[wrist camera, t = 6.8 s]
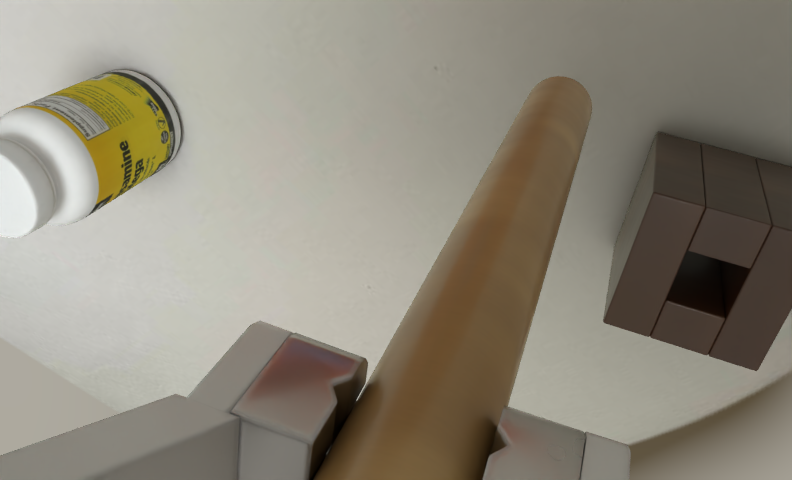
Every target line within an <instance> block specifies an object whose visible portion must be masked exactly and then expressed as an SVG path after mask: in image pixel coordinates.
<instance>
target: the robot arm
mask: <svg viewBox="0 0 792 480" xmlns="http://www.w3.org/2000/svg"><path fill="white" fill-rule="evenodd" d="M367 367H368V362H367V360H366V358H363V357H360V356H358V355H355V354H352V353H349V352H347V351H344V350H341V349H339V348H336V347H333V346H330V345H328V344H325V343H322V342H319V341H317V340H314V339H311V338H308V337H306V336H303V335H300V334H297V333H292V332H290V331H287V330H284V329H282V328H279V327H276V326H273V325H271V324H268V323H265V322H262V321H258V322H256V323H254V324H252V325H250V326H249V327H248V328H247V329H246V331H245V332H244V333H243V334H242V335H241V336H240V337H239V338H238V340H237V341H236V342H235V343H234V344H233V345H232V346H231V348H230V349H229V350H228V351H227V352H226V353H225V354H224V356H223V357H222V358H221V359H220V360H219V361H218V362H217V364H216V365H215V366H214V367H213V368H212V369H211V370H210V372H209V373H208V374H207V375H206V376H205V377H204V378H203V380H202V381H201V382H200V383H199V384H198V385H197V386H196V388H195V389H194V390H193V391H192V392H191V393H190V394H189V395H188V397H187V398H186V397H183V396H180V395H178V394H174V395H171V396H168V397H166V398H163V399H160V400H157V401H154V402H151V403H149V404H146V405H143V406H140V407H137V408H134V409H131V410H129V411H126V412H123V413H120V414H117V415H114V416H112V417H109V418H106V419H103V420H100V421H98V422H94V423H92V424H89V425H86V426H83V427H80V428H77V429H75V430H72V431H69V432H66V433H63V434H61V435H58V436H55V437H52V438H49V439H46V440H43V441H40V442H38V443H35V444H32V445H29V446H26V447H23V448H21V449H18V450H15V451H12V452H9V453H6V454H3V455H1V456H0V480H313V479H314V477H315V475H316V473H317V471H318V470H319V468H320V466H321V464H322V463H323V461H324V459H325V457H326V455H327V454H328V452H329V450H330V448H331V447H332V445H333V443H334V441H335V439H336V438H337V436H338V434H339V432H340V430H341V429H342V427H343V425H344V423H345V422H346V420H347V418H348V416H349V414H350V413H351V411H352V409H353V407H354V405H355V404H356V402H357V401H356V399H357V398H358V396H359V394H360V392H361V390H362V388H363V387H364V385H365V382H366V374H367ZM630 455H631V452H630V449H629V447H628V445H626V444H623V443H620V442H617V441H614V440H611V439H608V438H604V437H601V436H598V435H595V434H592V433H589V432H585V433H584V432H583V431H580V430H577V429H574V428H571V427H568V426H565V425H562V424H559V423H556V422H553V421H550V420H547V419H544V418H541V417H538V416H535V415H532V414H529V413H526V412H523V411H520V410H517V409H514V408H511V407H508V406H505V405H504V407H503V410H502V414H501V417H500V420H499V423H498V426H497V429H496V433H495V436H494V439H493V443H492V446H491V449H490V452H489V456H488V459H487V462H486V468H485V471H484V474H483V477H482V480H629V473H630Z"/></svg>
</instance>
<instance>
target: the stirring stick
mask: <svg viewBox="0 0 792 480" xmlns="http://www.w3.org/2000/svg"><path fill="white" fill-rule="evenodd" d="M591 114H592V102H591V98H590V96H589V94H588V92H587V90H586V89H585V88H584V87H583V86H582V85H581V84H580V83H579V82H577V81H575V80H573V79H571V78H568V77H561V76H557V77H550V78H547V79H545V80H543V81H541V82H539V83H538V84H537V85H536V86H535V87H534V88H533V89H532V90H531V92H530V93H529V95H528V97H527V99H526V101H525V102H524V104H523V106H522V108H521V109H520V111H519V113H518V115H517V117H516V118H515V120H514V122H513V124H512V125H511V127H510V129H509V131H508V133H507V134H506V136H505V138H504V140H503V142H502V143H501V145H500V147H499V149H498V150H497V152H496V154H495V156H494V158H493V159H492V161H491V163H490V165H489V167H488V168H487V170H486V172H485V174H484V175H483V177H482V179H481V181H480V183H479V184H478V186H477V188H476V190H475V191H474V193H473V195H472V197H471V199H470V200H469V202H468V204H467V206H466V208H465V209H464V211H463V213H462V215H461V216H460V218H459V220H458V222H457V224H456V225H455V227H454V229H453V231H452V232H451V234H450V236H449V238H448V240H447V241H446V243H445V245H444V247H443V249H442V250H441V252H440V254H439V256H438V257H437V259H436V261H435V263H434V265H433V266H432V268H431V270H430V272H429V274H428V275H427V277H426V279H425V281H424V282H423V284H422V286H421V288H420V290H419V291H418V293H417V295H416V297H415V298H414V300H413V302H412V304H411V306H410V307H409V309H408V311H407V313H406V315H405V316H404V318H403V320H402V322H401V323H400V325H399V327H398V329H397V331H396V332H395V334H394V336H393V338H392V339H391V341H390V343H389V345H388V347H387V348H386V350H385V352H384V354H383V356H382V357H381V359H380V361H379V363H378V364H377V366H376V368H375V370H374V372H373V373H372V375H371V377H370V379H369V381H368V382H367V384H366V386H365V388H364V389H363V391H362V393H361V395H360V397H359V398H358V400H357V402H356V404H355V405H354V407H353V409H352V411H351V413H350V414H349V416H348V418H347V420H346V422H345V423H344V425H343V427H342V429H341V430H340V432H339V434H338V436H337V438H336V439H335V441H334V443H333V445H332V447H331V448H330V450H329V452H328V454H327V455H326V457H325V459H324V461H323V463H322V464H321V466H320V468H319V470H318V471H317V473H316V475H315V477H314V479H313V480H482V477H483V474H484V471H485V468H486V462H487V459H488V456H489V452H490V449H491V446H492V443H493V439H494V436H495V433H496V429H497V426H498V423H499V420H500V417H501V414H502V410H503V407H504V405H505V406H508V403H509V400H510V396H511V393H512V389H513V386H514V383H515V379H516V376H517V372H518V369H519V365H520V362H521V358H522V355H523V351H524V348H525V344H526V341H527V337H528V334H529V330H530V327H531V323H532V320H533V316H534V313H535V309H536V306H537V303H538V299H539V296H540V292H541V289H542V285H543V282H544V278H545V275H546V271H547V268H548V264H549V261H550V257H551V254H552V250H553V247H554V243H555V240H556V236H557V233H558V230H559V226H560V223H561V219H562V216H563V212H564V209H565V205H566V202H567V198H568V195H569V191H570V188H571V184H572V181H573V177H574V174H575V170H576V167H577V163H578V160H579V156H580V153H581V150H582V146H583V143H584V139H585V136H586V132H587V129H588V125H589V122H590V118H591Z"/></svg>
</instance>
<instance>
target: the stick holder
mask: <svg viewBox="0 0 792 480" xmlns="http://www.w3.org/2000/svg"><path fill="white" fill-rule="evenodd" d="M791 309H792V167H789V166H785V165H781V164H778V163H774V162H770V161H766V160H762V159H758V158H756V159H755V158H754V157H752V156H748V155H744V154H740V153H736V152H733V151H729V150H725V149H721V148H717V147H713V146H710V145H706V144H700V143H698V142H694V141H690V140H686V139H682V138H678V137H675V136H671V135H667V134H663V133H659V132H657V133H656V135H655V138H654V141H653V143H652V146H651V149H650V151H649V154H648V157H647V159H646V162H645V165H644V168H643V170H642V173H641V176H640V178H639V181H638V184H637V187H636V189H635V192H634V195H633V197H632V200H631V203H630V205H629V208H628V211H627V214H626V216H625V219H624V222H623V224H622V227H621V230H620V232H619V235H618V238H617V241H616V243H615V246H614V252H613V259H612V265H611V272H610V279H609V286H608V292H607V299H606V306H605V312H604V319H603V322H604V323H606V324H610V325H613V326H616V327H619V328H622V329H625V330H628V331H632V332H635V333H638V334H641V335H644V336H647V337H649V336H650V337H651V338H654V339H657V340H660V341H663V342H666V343H669V344H673V345H676V346H679V347H682V348H685V349H688V350H691V351H695V352H698V353H701V354H704V355H709V356H710V357H714V358H717V359H720V360H723V361H726V362H729V363H732V364H736V365H739V366H742V367H745V368H748V369H751V370H755V371H757V370H758V369H759V367H760V365H761V363H762V361H763V360H764V358H765V356H766V354H767V352H768V350H769V349H770V347H771V345H772V343H773V341H774V340H775V338H776V336H777V334H778V332H779V330H780V329H781V327H782V325H783V323H784V321H785V320H786V318H787V316H788V314H789V312H790V310H791Z"/></svg>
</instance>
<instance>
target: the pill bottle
mask: <svg viewBox="0 0 792 480" xmlns="http://www.w3.org/2000/svg"><path fill="white" fill-rule="evenodd" d="M180 138H181V128H180V122H179V119H178V116H177V113H176V110H175V108H174V106H173V104H172V103H171V101H170V99H169V98H168V97H167V95H166V94H165V93H164V92H163V91H162V89H161V88H160V87H159V86H158V85H156V84H155V83H154V82H153V81H151V80H150V79H149V78H147V77H145V76H143V75H141V74H139V73H136V72H133V71H129V70H114V71H110V72H107V73H104V74H102V75H99V76H96V77H94V78H91V79H88V80H86V81H83V82H81V83H78V84H76V85H73V86H71V87H68V88H66V89H63V90H61V91H58V92H56V93H53V94H51V95H48V96H46V97H44V98H41V99H39V100H36V101H34V102H31V103H29V104H26V105H24V106H21V107H19V108H16V109H14V110H12V111H10V112H8V113H6V114H4V115H3V116H2V117H0V236H3V237H6V238H20V237H23V236H26V235H28V234H30V233H31V232H33V231H35V230H37V229H39V228H41V227H42V226H44V225H45V224H46V225H53V226H62V225H69V224H72V223H75V222H77V221H79V220H81V219H83V218H85V217H87V216H88V215H90V214H92V213H93V212H95V211H96V210H98V209H100V208H101V207H102V206H104V205H106V204H107V203H109V202H111V201H112V200H114V199H115V198H117V197H118V196H120V195H122V194H123V193H125V192H126V191H128V190H129V189H131V188H133V187H134V186H136V185H137V184H139V183H140V182H142V181H143V180H145V179H147V178H148V177H150V176H152V175H153V174H155V173H157V172H158V171H160V170H161V169H162V168H163V167H165V166H166V165H167V164H168V163H170V161H171V160H172V159H173V158H174V156H175V155H176V153H177V150H178V148H179V144H180Z"/></svg>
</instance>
